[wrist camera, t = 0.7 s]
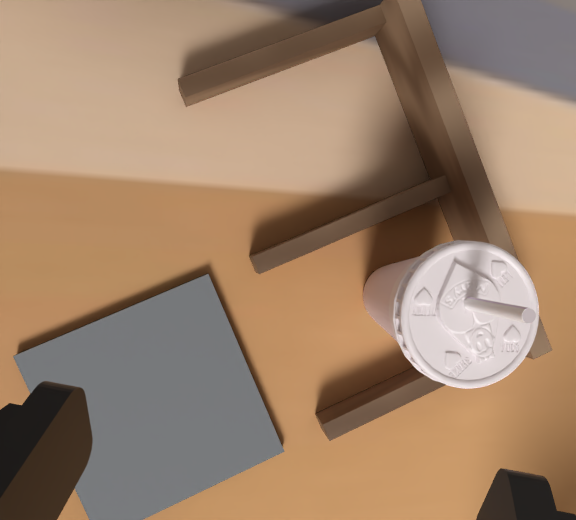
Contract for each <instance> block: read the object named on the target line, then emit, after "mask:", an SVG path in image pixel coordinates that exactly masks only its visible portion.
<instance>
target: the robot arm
mask: <svg viewBox="0 0 576 520" xmlns="http://www.w3.org/2000/svg"><path fill="white" fill-rule="evenodd" d="M92 443H93V437H92V431H91V425H90V419H89V413H88V407H87V401H86V395H85V391H84V390H83V388H81V387H76V386H70V385H65V384H60V383H54V382H49V381H43V382H41V383H40V384H38V385H37V386H36V388H35V389H34V390H33V391H32V393H31V394H30V395H29V397H28V398H27V399H26V401H25V402H24V403H23V405H16V404H11V403H9V404H8V405H7V406H5V407H4V408H2V409H1V410H0V520H57V519H58V517H59V515H60V513H61V511H62V510H63V508H64V506H65V504H66V502H67V501H68V499H69V497H70V495H71V493H72V492H73V490H74V488H75V486H76V484H77V483H78V481H79V479H80V477H81V475H82V474H83V472H84V470H85V468H86V466H87V464H88V461H89V458H90V454H91V450H92ZM476 520H576V516H575V514H570V513H565V512H560V511H557V510H556V506H555V503H554V499H553V495H552V491H551V488H550V485H549V483H548V481H547V479H546V478H545V477H543V476H540V475H534V474H529V473H524V472H518V471H513V470H508V469H500V470H499V471H498V472H497V474H496V476H495V478H494V480H493V483H492V485H491V487H490V489H489V491H488V493H487V496H486V498H485V500H484V502H483V504H482V507H481V509H480V511H479V513H478V516H477V519H476Z"/></svg>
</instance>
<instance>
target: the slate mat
mask: <svg viewBox="0 0 576 520" xmlns="http://www.w3.org/2000/svg"><path fill="white" fill-rule="evenodd" d="M13 357H14V359H15V361H16V364H17V366H18V368H19V370H20V372H21V374H22V376H23V379H24V381H25V383H26V385H27V387H28V389H29V391H30V394H31V393H32V391H33V390H34V389H35V388H36V386H37V385H38V384H40V383H41V382H43V381H49V382H54V383H60V384H65V385H70V386H76V387H81V388H83V390H84V391H85V395H86V401H87V407H88V413H89V419H90V425H91V431H92V437H93V443H92V450H91V454H90V458H89V461H88V464H87V466H86V468H85V470H84V472H83V474H82V475H81V477H80V479H79V481H78V483H77V484H76V486H75V490H76V492H77V494H78V496H79V498H80V501H81V503H82V505H83V507H84V509H85V511H86V513H87V516H88V518H89V520H143V519H145V518H147V517H149V516H151V515H153V514H155V513H157V512H160V511H162V510H164V509H166V508H168V507H170V506H172V505H174V504H176V503H178V502H180V501H182V500H185V499H187V498H189V497H191V496H193V495H195V494H197V493H199V492H201V491H203V490H205V489H207V488H210V487H212V486H214V485H216V484H218V483H220V482H222V481H224V480H226V479H228V478H230V477H232V476H234V475H237V474H239V473H241V472H243V471H245V470H247V469H249V468H251V467H253V466H255V465H257V464H259V463H262V462H264V461H266V460H268V459H270V458H272V457H274V456H276V455H278V454H280V453H282V452H284V449H283V447H282V445H281V442H280V440H279V438H278V435H277V433H276V431H275V428H274V426H273V424H272V421H271V419H270V417H269V414H268V412H267V410H266V407H265V405H264V403H263V400H262V398H261V396H260V393H259V391H258V389H257V386H256V384H255V382H254V379H253V377H252V375H251V372H250V370H249V368H248V365H247V363H246V361H245V358H244V356H243V354H242V351H241V349H240V347H239V344H238V342H237V340H236V337H235V335H234V333H233V330H232V328H231V326H230V323H229V321H228V319H227V316H226V314H225V312H224V309H223V307H222V305H221V302H220V300H219V298H218V295H217V293H216V291H215V288H214V286H213V284H212V281H211V279H210V277H209V274H205V275H203V276H201V277H198V278H196V279H194V280H191V281H189V282H187V283H184V284H182V285H179V286H177V287H175V288H172V289H170V290H168V291H165V292H163V293H160V294H158V295H156V296H153V297H151V298H149V299H146V300H144V301H142V302H139V303H137V304H134V305H132V306H130V307H127V308H125V309H123V310H120V311H118V312H116V313H113V314H111V315H108V316H106V317H104V318H101V319H99V320H97V321H94V322H92V323H89V324H87V325H85V326H82V327H80V328H78V329H75V330H73V331H71V332H68V333H66V334H63V335H61V336H59V337H56V338H54V339H52V340H49V341H47V342H45V343H42V344H40V345H37V346H35V347H33V348H30V349H28V350H26V351H23V352H21V353H18V354H16V355H15V356H13Z"/></svg>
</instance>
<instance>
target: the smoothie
mask: <svg viewBox="0 0 576 520" xmlns="http://www.w3.org/2000/svg"><path fill="white" fill-rule="evenodd" d="M363 301H364V305H365V308H366V310H367V312H368V314H369V315H370V316H371V317H372V318H373V319H374V320H375V321H376V322H377V323H378V324H379V325H380V326H381V327H382V328H383V329H384V330H385V331H387V332H388V333H389V334H390V335H391V336H392V337H393V338H394V339H395V340H396V341H397V342H398V343H399V345H400V347H401V349H402V351H403V353H404V355H405V357H406V358H407V359H408V360H409V361H410V363H411V364H412V365H413V366H414V367H415V368H416V369H417V370H418V371H419V372H421V373H422V374H424V375H426V376H427V377H429V378H430V379H432V380H434V381H438V382H441V383H443V384H446V385H448V386H452V387H457V388H466V389H469V388H480V387H484V386H488V385H491V384H493V383H495V382H498V381H500V380H501V379H503V378H505V377H506V376H507V375H509V374H510V373H511V372H513V371H514V370H515V369H516V368H517V367H518V366H519V365H520V363H521V362H522V361H523V360H524V358H525V357H526V355H527V354H528V352H529V350H530V348H531V346H532V344H533V342H534V339H535V336H536V332H537V328H538V321H539V304H538V298H537V294H536V290H535V287H534V284H533V282H532V280H531V278H530V276H529V274H528V273H527V271H526V270H525V268H524V267H523V266H522V264H521V263H520V262H519V261H518V260H517V259H516V258H515V257H514V256H512V255H511V254H510V253H508V252H507V251H505V250H503V249H502V248H499V247H497V246H495V245H492V244H489V243H484V242H477V241H464V240H456V241H452V242H447V243H443V244H439V245H437V246H435V247H434V248H432V249H430V250H428V251H426V252H424V253H423V254H422V255H421V256H419V257H415V258H412V259H408V260H404V261H400V262H397V263H393V264H389V265H386V266H383V267H380V268H379V269H377V270H376V271H374V272H373V273H372V274H371V275H370V277H369V278H368V280H367V281H366V284H365V287H364V291H363Z"/></svg>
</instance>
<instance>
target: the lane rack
mask: <svg viewBox="0 0 576 520" xmlns="http://www.w3.org/2000/svg"><path fill="white" fill-rule="evenodd" d="M373 36H375V37H376V39H377V42H378V45H379V47H380V50H381V52H382V55H383V58H384V60H385V63H386V65H387V68H388V71H389V73H390V76H391V78H392V81H393V84H394V86H395V89H396V91H397V94H398V97H399V99H400V102H401V104H402V107H403V110H404V112H405V115H406V117H407V120H408V122H409V125H410V128H411V130H412V133H413V135H414V138H415V141H416V143H417V146H418V148H419V151H420V154H421V156H422V159H423V161H424V164H425V167H426V169H427V172H428V174H429V177H430V180H428V181H426V182H423V183H421V184H418V185H416V186H414V187H411V188H409V189H407V190H404V191H402V192H400V193H397V194H395V195H392V196H390V197H388V198H385V199H383V200H381V201H378V202H376V203H373V204H371V205H369V206H366V207H364V208H362V209H359V210H357V211H355V212H352V213H350V214H347V215H345V216H343V217H340V218H338V219H336V220H333V221H331V222H329V223H326V224H324V225H321V226H319V227H317V228H314V229H312V230H310V231H307V232H305V233H302V234H300V235H298V236H295V237H293V238H291V239H288V240H286V241H284V242H281V243H279V244H276V245H274V246H272V247H269V248H267V249H265V250H262V251H260V252H258V253H255V254H253V255H250V256H249V257H250V260H251V262H252V264H253V267H254V269H255V272H256V273H259V274H261V273H263V272H265V271H268V270H270V269H272V268H275V267H277V266H279V265H282V264H284V263H286V262H289V261H291V260H293V259H296V258H298V257H300V256H303V255H305V254H307V253H310V252H312V251H314V250H317V249H319V248H321V247H324V246H326V245H328V244H331V243H333V242H335V241H338V240H340V239H342V238H345V237H347V236H349V235H352V234H354V233H356V232H359V231H361V230H363V229H366V228H368V227H370V226H373V225H375V224H377V223H380V222H382V221H384V220H387V219H389V218H391V217H394V216H396V215H398V214H401V213H403V212H405V211H408V210H410V209H412V208H415V207H417V206H419V205H422V204H424V203H426V202H429V201H431V200H433V199H436V198H438V200H439V203H440V206H441V208H442V211H443V213H444V216H445V219H446V221H447V224H448V226H449V229H450V232H451V234H452V237H453V239H454V241H456V240H464V241H477V242H484V243H489V244H492V245H495V246H497V247H499V248H502V249H503V250H505V251H507V252H508V253H510V254H511V255H512V256H514V257H515V258H516V259H517V260H518V258H517V255H516V252H515V250H514V247H513V244H512V242H511V239H510V236H509V234H508V231H507V228H506V226H505V223H504V220H503V218H502V215H501V212H500V210H499V207H498V205H497V202H496V199H495V197H494V194H493V191H492V189H491V186H490V183H489V181H488V178H487V175H486V173H485V170H484V167H483V165H482V162H481V159H480V157H479V154H478V151H477V149H476V146H475V143H474V141H473V138H472V135H471V133H470V130H469V127H468V125H467V122H466V119H465V117H464V114H463V111H462V109H461V106H460V103H459V101H458V98H457V95H456V93H455V90H454V87H453V85H452V82H451V79H450V77H449V74H448V71H447V69H446V66H445V63H444V61H443V58H442V55H441V53H440V50H439V48H438V45H437V42H436V40H435V37H434V34H433V32H432V29H431V26H430V24H429V21H428V18H427V16H426V13H425V10H424V8H423V5H422V2H421V0H383V1H382V3H381V4H380V5H378V6H375V7H372V8H369V9H367V10H364V11H361V12H359V13H356V14H353V15H350V16H348V17H345V18H342V19H339V20H337V21H334V22H331V23H329V24H326V25H323V26H320V27H318V28H315V29H312V30H310V31H307V32H304V33H301V34H299V35H296V36H293V37H290V38H288V39H285V40H282V41H280V42H277V43H274V44H271V45H269V46H266V47H263V48H261V49H258V50H255V51H252V52H250V53H247V54H244V55H241V56H239V57H236V58H233V59H231V60H228V61H225V62H222V63H220V64H217V65H214V66H211V67H209V68H206V69H203V70H201V71H198V72H195V73H192V74H190V75H187V76H184V77H182V78H179V79H178V85H179V91H180V93H181V96H182V98H183V100H184V103H185V105H186V107H187V106H190V105H192V104H195V103H198V102H200V101H203V100H206V99H208V98H211V97H214V96H216V95H219V94H222V93H224V92H227V91H229V90H232V89H235V88H237V87H240V86H243V85H245V84H248V83H251V82H253V81H256V80H259V79H261V78H264V77H267V76H269V75H272V74H275V73H277V72H280V71H283V70H285V69H288V68H291V67H293V66H296V65H299V64H301V63H304V62H307V61H309V60H312V59H315V58H317V57H320V56H323V55H325V54H328V53H331V52H333V51H336V50H339V49H341V48H344V47H347V46H349V45H352V44H355V43H357V42H360V41H363V40H365V39H368V38H371V37H373ZM518 261H519V260H518ZM550 351H552V348H551V346H550V343H549V340H548V338H547V335H546V332H545V330H544V327H543V324H542V322H541V319H540V316H539V321H538V328H537V332H536V336H535V339H534V342H533V344H532V346H531V348H530V350H529V352H528V354H527V355H526V357H528V358H531V359H535V358H537V357H539V356H541V355H544V354H546V353H548V352H550ZM444 385H446V384H443V383H441V382H438V381H434V380H432V379H430V378H429V377H427V376H426V375H424V374H422V373H421V372H419V371H418V370H417V369H416V368H415V367H413V368H411V369H409V370H407V371H404V372H402V373H400V374H398V375H396V376H394V377H392V378H390V379H388V380H385V381H383V382H381V383H379V384H377V385H375V386H373V387H371V388H369V389H366V390H364V391H362V392H360V393H358V394H356V395H354V396H352V397H350V398H348V399H345V400H343V401H341V402H339V403H337V404H335V405H333V406H331V407H329V408H326V409H324V410H322V411H320V412H318V413H316V417H317V419H318V421H319V424H320V426H321V429H322V430H323V432H324V433H325V435H326V436H327V438H328V439H329V441H331V440H333V439H335V438H337V437H339V436H341V435H343V434H345V433H347V432H349V431H351V430H353V429H355V428H358V427H360V426H362V425H364V424H366V423H368V422H370V421H372V420H374V419H376V418H378V417H380V416H382V415H384V414H387V413H389V412H391V411H393V410H395V409H397V408H399V407H401V406H403V405H405V404H407V403H409V402H411V401H413V400H415V399H418V398H420V397H422V396H424V395H426V394H428V393H430V392H432V391H434V390H436V389H438V388H440V387H442V386H444Z"/></svg>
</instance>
